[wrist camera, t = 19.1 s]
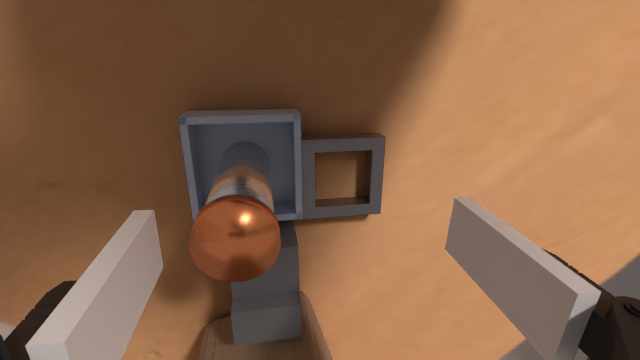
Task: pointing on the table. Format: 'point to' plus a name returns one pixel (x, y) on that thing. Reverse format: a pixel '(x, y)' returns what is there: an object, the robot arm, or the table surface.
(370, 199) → the socket
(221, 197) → the pin
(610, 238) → the table surface
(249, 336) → the dark grey stepped piece
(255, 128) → the tray
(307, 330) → the block
